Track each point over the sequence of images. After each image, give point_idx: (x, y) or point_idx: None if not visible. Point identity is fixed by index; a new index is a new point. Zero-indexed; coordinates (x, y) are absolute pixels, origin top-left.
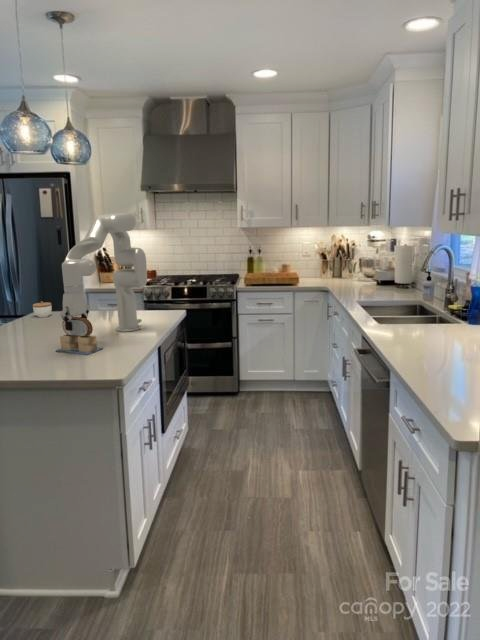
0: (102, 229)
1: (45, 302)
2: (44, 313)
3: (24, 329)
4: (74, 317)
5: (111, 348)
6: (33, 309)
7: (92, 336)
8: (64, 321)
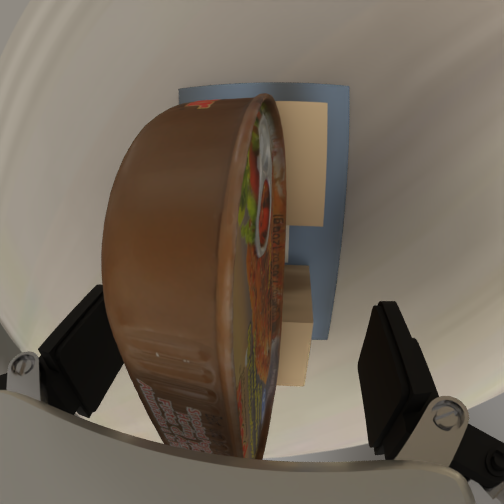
0: None
1: None
2: None
3: None
4: (222, 419)
5: (349, 359)
6: None
7: (277, 379)
8: (27, 353)
